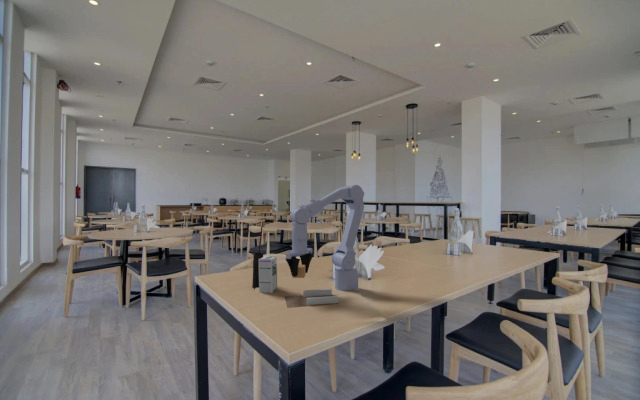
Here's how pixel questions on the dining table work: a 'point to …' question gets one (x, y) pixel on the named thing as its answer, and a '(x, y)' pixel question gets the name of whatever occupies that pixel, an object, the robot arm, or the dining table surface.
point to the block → (301, 271)
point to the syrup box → (268, 274)
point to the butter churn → (256, 265)
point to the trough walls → (319, 299)
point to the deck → (301, 301)
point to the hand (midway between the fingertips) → (299, 274)
